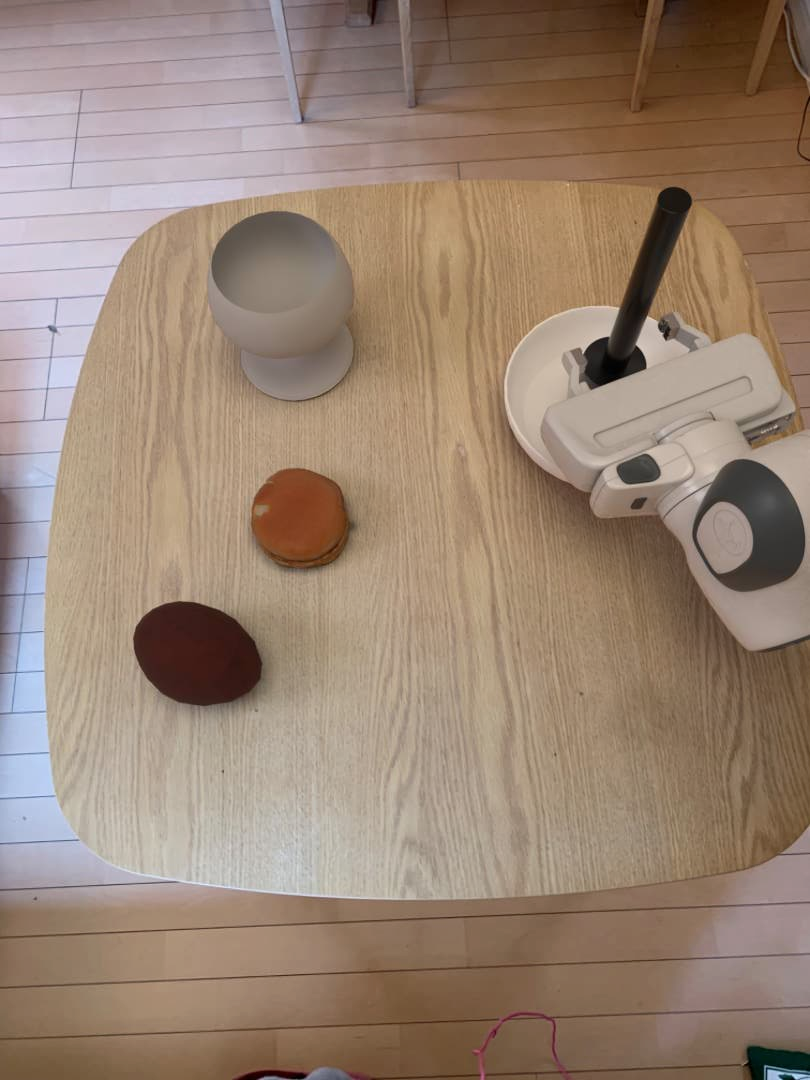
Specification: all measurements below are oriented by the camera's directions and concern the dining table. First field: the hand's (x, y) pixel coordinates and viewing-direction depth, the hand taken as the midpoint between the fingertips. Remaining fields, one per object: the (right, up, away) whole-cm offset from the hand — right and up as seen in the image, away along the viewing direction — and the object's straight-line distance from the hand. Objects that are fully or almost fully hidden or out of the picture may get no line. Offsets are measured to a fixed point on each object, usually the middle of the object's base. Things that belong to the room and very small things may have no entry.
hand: (618, 335), depth 75 cm
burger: (-29, -17, +10) cm, 35 cm away
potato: (-37, -30, +5) cm, 48 cm away
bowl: (+1, -6, +13) cm, 14 cm away
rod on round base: (+1, -3, +7) cm, 8 cm away
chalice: (-30, +2, +17) cm, 35 cm away
